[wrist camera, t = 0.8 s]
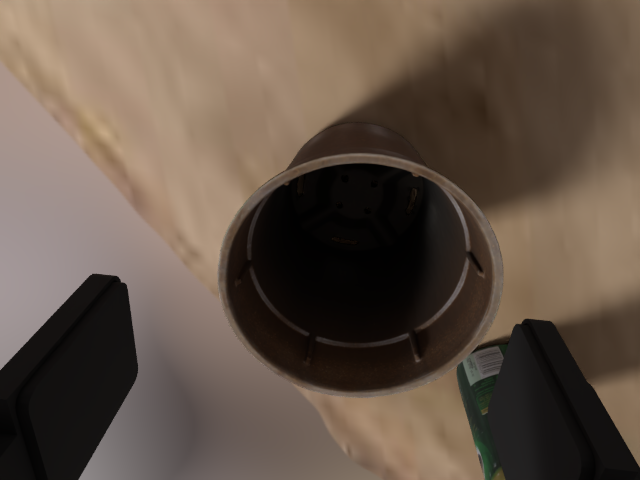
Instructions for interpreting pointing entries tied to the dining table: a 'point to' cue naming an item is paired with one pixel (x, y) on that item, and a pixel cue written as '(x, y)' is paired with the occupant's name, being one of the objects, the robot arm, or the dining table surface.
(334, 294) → the plant pot
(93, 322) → the robot arm
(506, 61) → the dining table surface
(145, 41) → the dining table surface
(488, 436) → the coffee jar
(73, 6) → the dining table surface
